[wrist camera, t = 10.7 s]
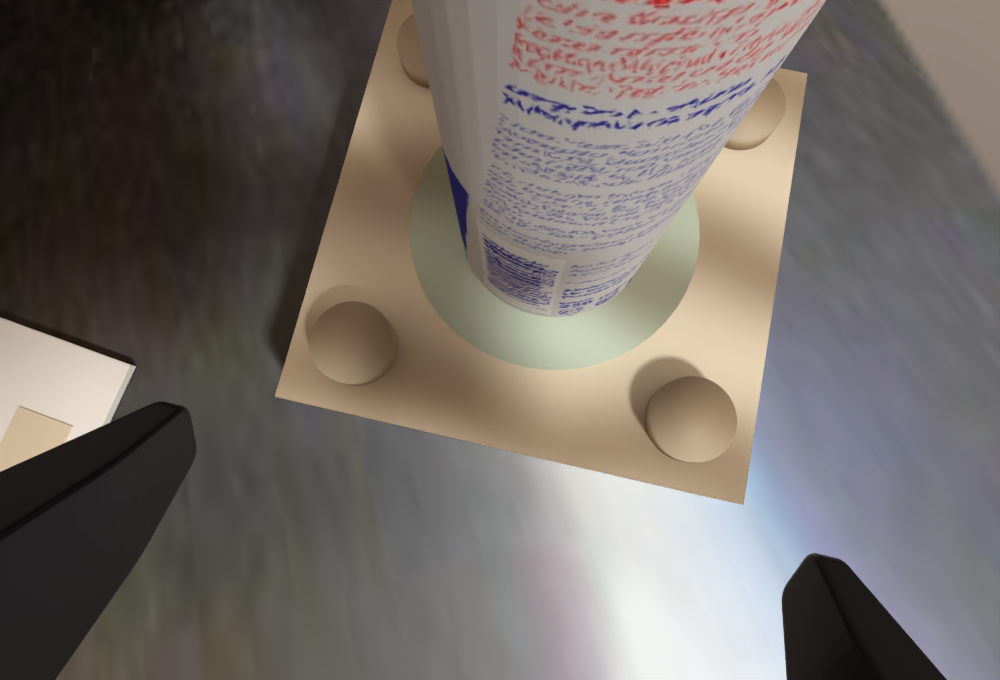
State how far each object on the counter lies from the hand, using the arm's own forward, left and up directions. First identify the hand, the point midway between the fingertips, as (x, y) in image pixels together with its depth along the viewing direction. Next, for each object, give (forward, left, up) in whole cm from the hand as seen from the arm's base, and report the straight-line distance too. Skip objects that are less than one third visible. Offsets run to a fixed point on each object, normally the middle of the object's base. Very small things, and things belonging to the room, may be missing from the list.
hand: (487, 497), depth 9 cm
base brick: (+7, +3, -11) cm, 14 cm away
